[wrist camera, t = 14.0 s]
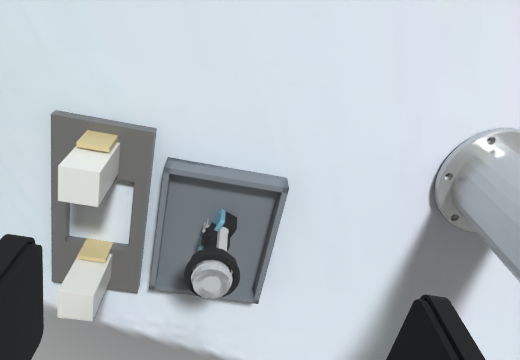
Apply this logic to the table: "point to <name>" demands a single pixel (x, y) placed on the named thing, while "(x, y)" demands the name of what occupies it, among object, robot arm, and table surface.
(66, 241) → the block
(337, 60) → the table surface
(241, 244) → the tray
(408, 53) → the table surface
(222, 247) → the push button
